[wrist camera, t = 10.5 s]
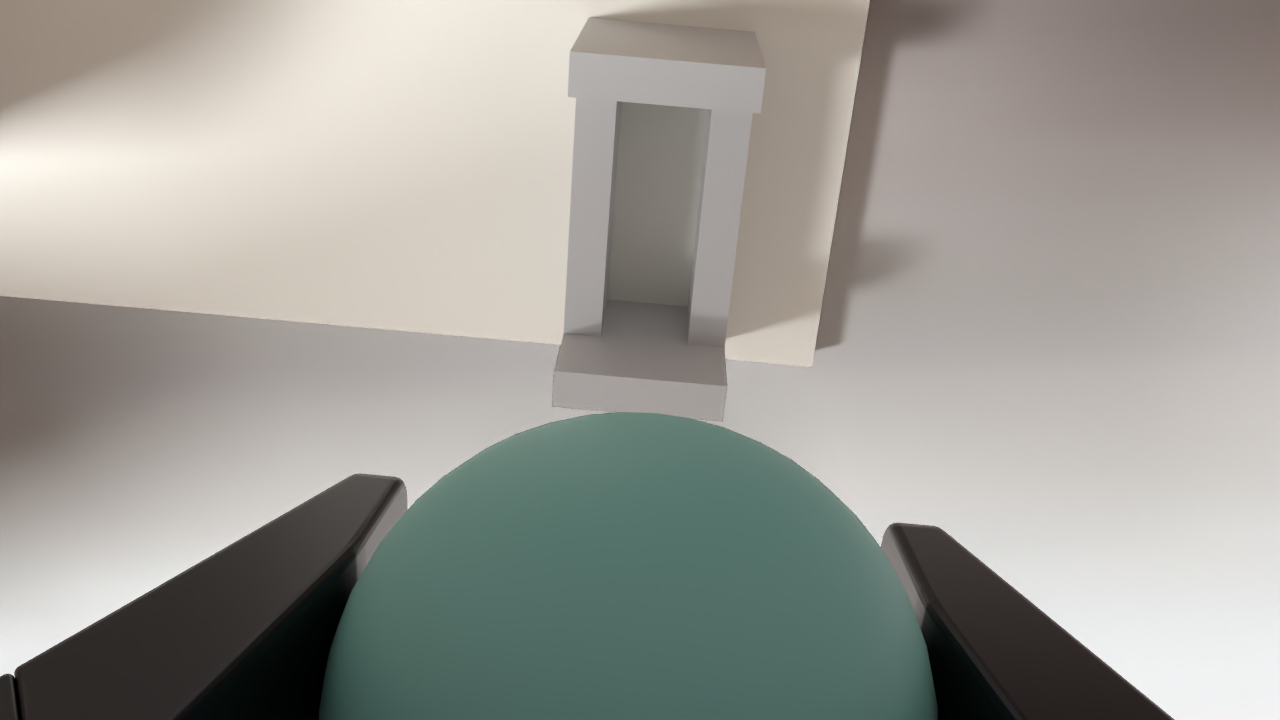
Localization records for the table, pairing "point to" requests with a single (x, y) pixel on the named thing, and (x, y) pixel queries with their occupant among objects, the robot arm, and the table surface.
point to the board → (443, 172)
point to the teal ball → (628, 589)
